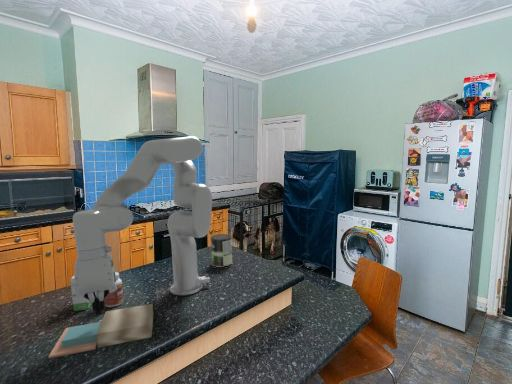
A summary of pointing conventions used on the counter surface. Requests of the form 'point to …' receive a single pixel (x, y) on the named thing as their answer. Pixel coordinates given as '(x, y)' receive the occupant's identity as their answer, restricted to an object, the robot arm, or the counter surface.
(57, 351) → the mat
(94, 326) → the tile
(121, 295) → the pill bottle
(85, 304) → the ink box
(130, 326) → the platform
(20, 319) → the counter surface
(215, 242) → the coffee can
